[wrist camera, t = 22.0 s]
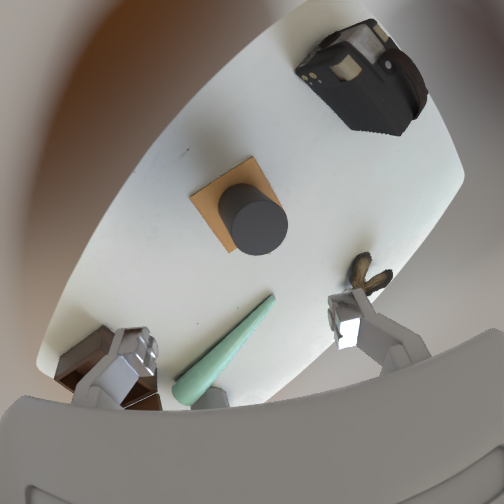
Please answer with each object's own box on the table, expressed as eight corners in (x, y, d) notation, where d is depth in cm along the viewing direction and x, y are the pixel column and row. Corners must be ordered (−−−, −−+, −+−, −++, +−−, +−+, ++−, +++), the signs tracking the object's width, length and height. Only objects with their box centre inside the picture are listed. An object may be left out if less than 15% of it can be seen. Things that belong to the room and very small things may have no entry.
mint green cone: (295, 320, 43) (196, 409, 47) (283, 301, 47) (192, 388, 51) (273, 306, 40) (172, 401, 44) (262, 286, 45) (170, 379, 49)
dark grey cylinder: (212, 223, 37) (224, 251, 30) (224, 178, 35) (240, 194, 27) (256, 231, 40) (278, 259, 32) (269, 188, 37) (295, 207, 30)
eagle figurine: (366, 300, 52) (392, 266, 48) (367, 320, 46) (398, 283, 41) (336, 281, 53) (361, 245, 49) (333, 299, 46) (363, 260, 42)
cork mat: (189, 197, 35) (189, 198, 35) (252, 156, 35) (253, 156, 35) (228, 252, 40) (228, 253, 40) (285, 214, 40) (286, 215, 40)
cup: (198, 411, 56) (206, 446, 47) (183, 394, 52) (189, 433, 43) (231, 400, 57) (242, 436, 48) (219, 383, 53) (229, 421, 44)
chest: (59, 357, 40) (53, 379, 35) (103, 324, 40) (98, 348, 35) (109, 393, 47) (107, 415, 42) (156, 368, 47) (157, 391, 42)
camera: (328, 27, 29) (395, 0, 16) (384, 90, 35) (456, 91, 22) (286, 70, 31) (350, 46, 18) (351, 133, 37) (425, 146, 24)
